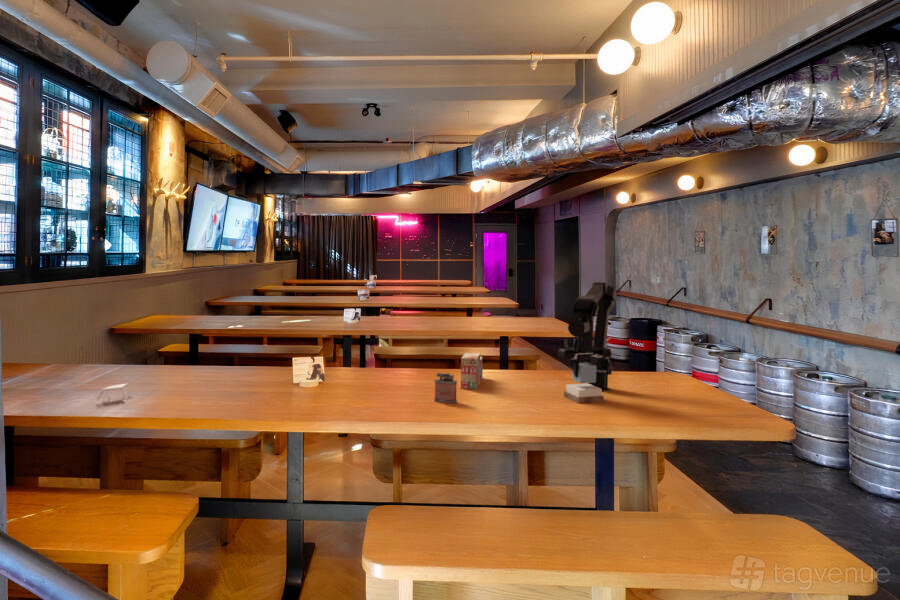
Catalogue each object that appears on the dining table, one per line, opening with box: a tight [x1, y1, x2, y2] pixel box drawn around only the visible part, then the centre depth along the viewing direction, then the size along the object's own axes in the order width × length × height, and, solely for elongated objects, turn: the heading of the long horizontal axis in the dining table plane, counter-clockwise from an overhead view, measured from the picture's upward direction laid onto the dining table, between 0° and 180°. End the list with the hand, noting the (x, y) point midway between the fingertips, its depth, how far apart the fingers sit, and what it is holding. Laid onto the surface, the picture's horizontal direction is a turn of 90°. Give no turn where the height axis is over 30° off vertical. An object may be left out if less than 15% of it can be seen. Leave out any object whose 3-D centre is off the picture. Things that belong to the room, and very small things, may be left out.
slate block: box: [571, 362, 596, 384], centre depth 191 cm, size 6×6×6 cm
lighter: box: [433, 372, 458, 404], centre depth 186 cm, size 8×3×10 cm, turn 71°
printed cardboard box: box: [460, 352, 484, 390], centre depth 215 cm, size 21×6×12 cm, turn 171°
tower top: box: [565, 383, 603, 397], centre depth 192 cm, size 9×9×2 cm
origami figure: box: [96, 382, 135, 404], centre depth 184 cm, size 12×8×5 cm
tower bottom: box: [563, 390, 604, 404], centre depth 192 cm, size 10×10×2 cm
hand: (583, 376), depth 191 cm, fingers closed on slate block, 6 cm apart
